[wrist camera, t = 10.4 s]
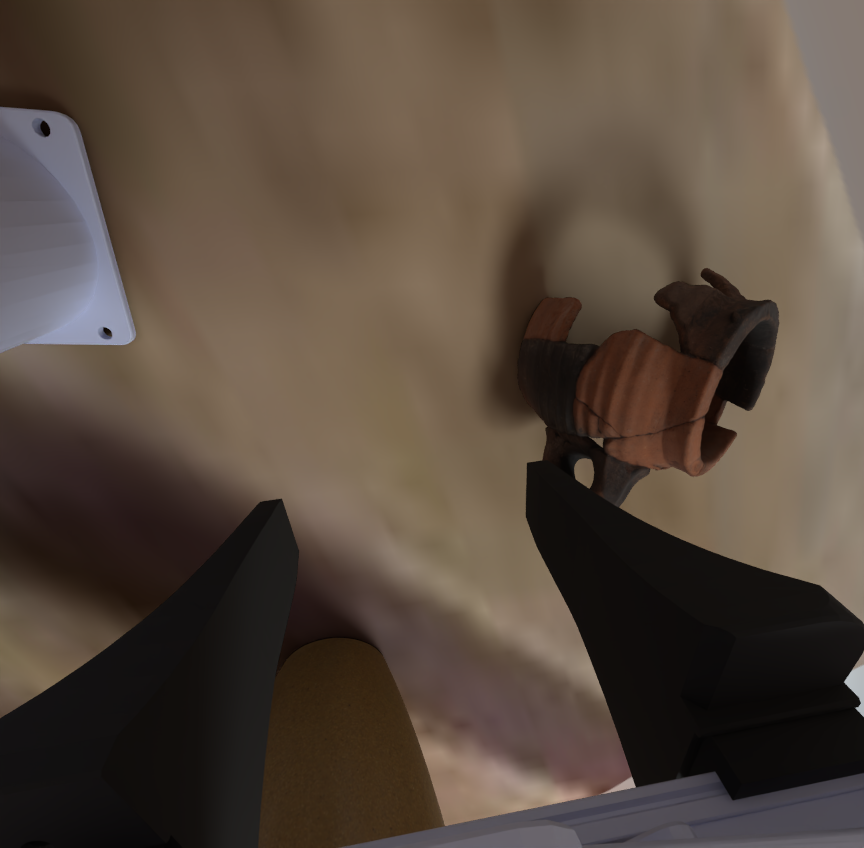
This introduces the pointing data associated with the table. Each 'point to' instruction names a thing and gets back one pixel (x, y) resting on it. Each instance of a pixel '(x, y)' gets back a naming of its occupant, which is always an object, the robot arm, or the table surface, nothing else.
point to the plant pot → (341, 753)
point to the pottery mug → (647, 384)
